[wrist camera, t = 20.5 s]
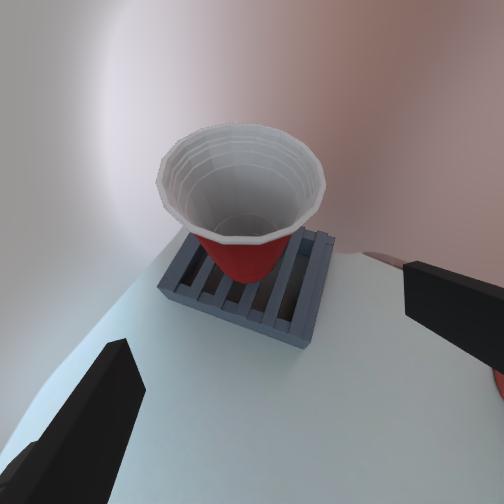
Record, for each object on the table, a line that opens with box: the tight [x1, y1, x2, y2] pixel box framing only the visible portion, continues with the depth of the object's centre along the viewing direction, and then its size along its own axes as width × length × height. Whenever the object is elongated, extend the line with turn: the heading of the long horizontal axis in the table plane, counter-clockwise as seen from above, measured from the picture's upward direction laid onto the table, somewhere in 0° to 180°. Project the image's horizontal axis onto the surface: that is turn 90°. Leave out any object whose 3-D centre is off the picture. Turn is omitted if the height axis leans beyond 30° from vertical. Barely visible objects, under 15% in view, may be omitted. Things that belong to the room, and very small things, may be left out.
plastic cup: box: [156, 123, 326, 283], centre depth 20 cm, size 11×11×12 cm
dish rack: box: [157, 226, 335, 349], centre depth 27 cm, size 16×12×4 cm
